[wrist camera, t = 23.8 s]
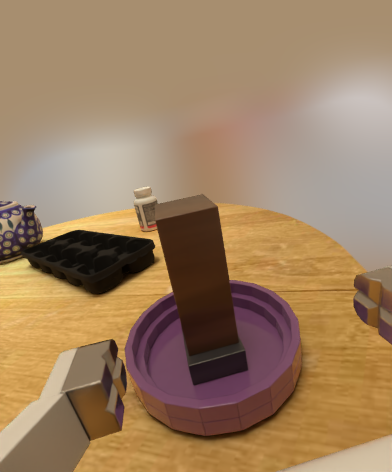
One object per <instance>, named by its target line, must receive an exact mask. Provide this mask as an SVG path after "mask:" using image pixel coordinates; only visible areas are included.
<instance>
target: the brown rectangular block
mask: <svg viewBox="0 0 392 472" xmlns="http://www.w3.org/2000/svg"><path fill="white" fill-rule="evenodd" d="M155 221H156V225H157V229H158V233H159V237H160V241H161V245H162V249H163V253H164V258H165V262H166V266H167V270H168V274H169V278H170V282H171V286H172V290H173V294H174V298H175V302H176V306H177V310H178V314H179V318H180V322H181V327H182V333H183V338H184V344H185V350H186V356H187V362H188V367H189V371H190V375H191V379H192V383H193V385H197V384H201V383H204V382H208V381H211V380H215V379H218V378H221V377H225V376H228V375H232V374H235V373H239V372H242V371H246V370H248V364H247V357H246V351H245V348H244V346H243V344H242V342H241V340H240V338H239V336H238V332H237V325H236V319H235V313H234V306H233V300H232V294H231V287H230V281H229V275H228V268H227V262H226V256H225V249H224V243H223V237H222V230H221V224H220V218H219V211H218V206H217V205H215V204H214V203H213V202H212V201H210V200H209V199H208V198H207V197H206V196H204V195H203V194H202V195H197V196H193V197H188V198H183V199H179V200H174V201H170V202H165V203H160V204H156V205H155Z"/></svg>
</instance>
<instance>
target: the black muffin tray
mask: <svg viewBox="0 0 392 472" xmlns="http://www.w3.org/2000/svg"><path fill="white" fill-rule="evenodd" d="M154 248H155V245H154V242H153V240H151V239H145V238H137V237H129V236H121V235H114V234H106V233H98V232H91V231H84V230H75V231H71V232H69V233H66V234H63V235H61V236H58V237H56V238H53V239H51V240H48V241H46V242H43V243H40V244H38V245H35V246H33V247H30V248H27V249H25V250H23V251H22V252H21V254H22V256H23V258H26V259H28V261H29V262H30V264H31V265H32V266H33V267H36V268H41V269H42V271H43V272H46V273H53V274H54V276H55V277H58V278H60V279H67V280H68V282H69V283H71V284H73V285H76V286H80V285H83V286H84V288H85V289H86V290H87V291H89V292H91V293H93V294H94V293H95V294H100V293H103V292H106V290H109V289H110V288H112V287H114V286H116V285H117V284H119V283H120V281H121V280H122V278H123V274H125V273H127V272H138V271H141V270H143V269H144V268H146V267H147V266H149V265H151V264H152V263H153V262H154V254H153V249H154Z"/></svg>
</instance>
